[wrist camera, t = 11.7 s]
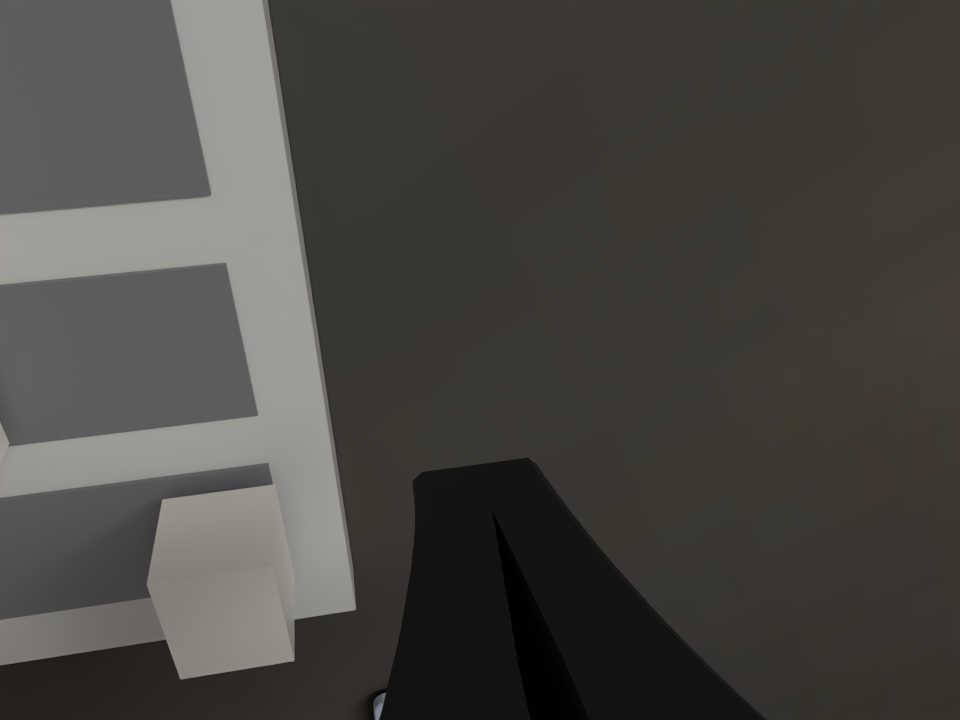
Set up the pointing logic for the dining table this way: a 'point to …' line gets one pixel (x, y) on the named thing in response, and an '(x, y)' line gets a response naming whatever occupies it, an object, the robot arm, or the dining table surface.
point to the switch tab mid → (3, 443)
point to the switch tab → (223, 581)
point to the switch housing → (149, 311)
